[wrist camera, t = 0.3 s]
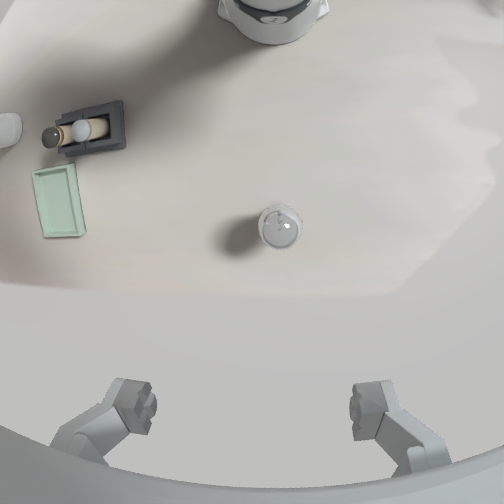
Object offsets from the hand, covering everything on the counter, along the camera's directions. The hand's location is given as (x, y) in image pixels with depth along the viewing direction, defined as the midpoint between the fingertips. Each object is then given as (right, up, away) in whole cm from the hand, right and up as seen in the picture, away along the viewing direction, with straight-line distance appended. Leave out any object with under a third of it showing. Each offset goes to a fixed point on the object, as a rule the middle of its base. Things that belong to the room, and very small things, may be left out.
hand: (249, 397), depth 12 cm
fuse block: (-30, +29, +41) cm, 59 cm away
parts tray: (-41, +17, +48) cm, 65 cm away
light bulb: (+5, +13, +46) cm, 48 cm away
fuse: (-27, +29, +40) cm, 56 cm away
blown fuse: (-34, +29, +41) cm, 60 cm away
